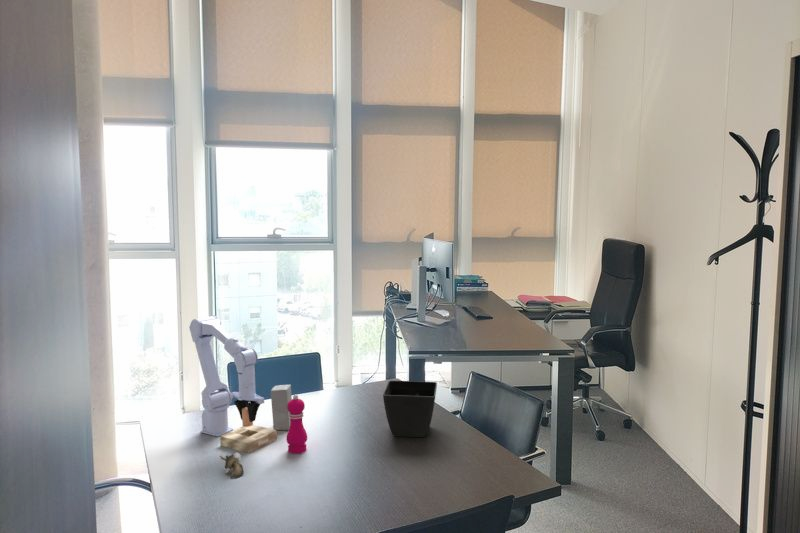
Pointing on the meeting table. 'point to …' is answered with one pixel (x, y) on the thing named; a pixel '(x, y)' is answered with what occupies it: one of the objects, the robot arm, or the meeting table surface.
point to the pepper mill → (296, 426)
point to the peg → (246, 418)
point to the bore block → (248, 438)
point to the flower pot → (409, 407)
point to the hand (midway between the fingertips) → (248, 420)
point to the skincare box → (281, 406)
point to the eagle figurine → (234, 465)
